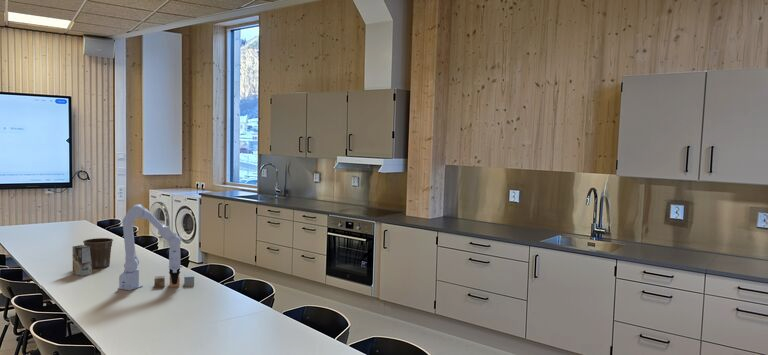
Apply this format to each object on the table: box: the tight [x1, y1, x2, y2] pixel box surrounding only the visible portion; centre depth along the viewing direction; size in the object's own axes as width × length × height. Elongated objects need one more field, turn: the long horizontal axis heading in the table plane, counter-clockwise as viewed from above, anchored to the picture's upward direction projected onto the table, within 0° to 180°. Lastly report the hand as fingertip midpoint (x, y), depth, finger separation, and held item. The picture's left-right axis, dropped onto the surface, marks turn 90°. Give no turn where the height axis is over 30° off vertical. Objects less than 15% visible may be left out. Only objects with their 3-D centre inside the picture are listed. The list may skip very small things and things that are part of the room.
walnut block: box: [153, 275, 166, 289], centre depth 297 cm, size 5×5×5 cm
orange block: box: [169, 274, 181, 288], centre depth 299 cm, size 5×5×5 cm
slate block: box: [183, 274, 195, 287], centre depth 302 cm, size 5×5×5 cm
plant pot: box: [82, 237, 114, 269], centre depth 335 cm, size 16×16×16 cm
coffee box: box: [71, 244, 93, 277], centre depth 316 cm, size 9×6×16 cm
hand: (174, 282), depth 299 cm, fingers closed on orange block, 5 cm apart
